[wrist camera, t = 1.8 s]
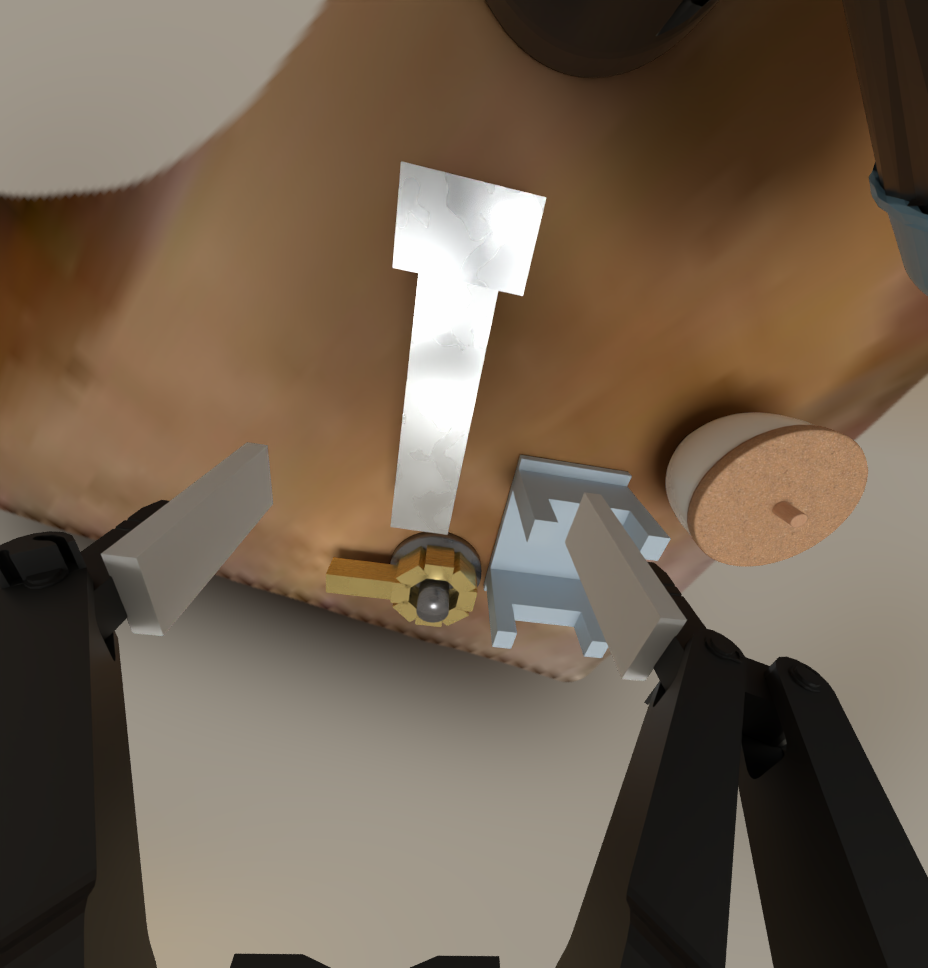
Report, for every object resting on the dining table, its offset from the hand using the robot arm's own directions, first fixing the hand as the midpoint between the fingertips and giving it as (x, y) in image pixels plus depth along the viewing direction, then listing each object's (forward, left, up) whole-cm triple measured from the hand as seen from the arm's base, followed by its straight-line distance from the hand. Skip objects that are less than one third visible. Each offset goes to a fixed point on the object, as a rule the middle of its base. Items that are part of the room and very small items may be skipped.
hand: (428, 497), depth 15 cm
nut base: (+17, +2, -14) cm, 22 cm away
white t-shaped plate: (-2, 0, -14) cm, 15 cm away
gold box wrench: (+17, -1, -13) cm, 21 cm away
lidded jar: (+1, +23, -14) cm, 27 cm away
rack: (+11, +12, -14) cm, 22 cm away
